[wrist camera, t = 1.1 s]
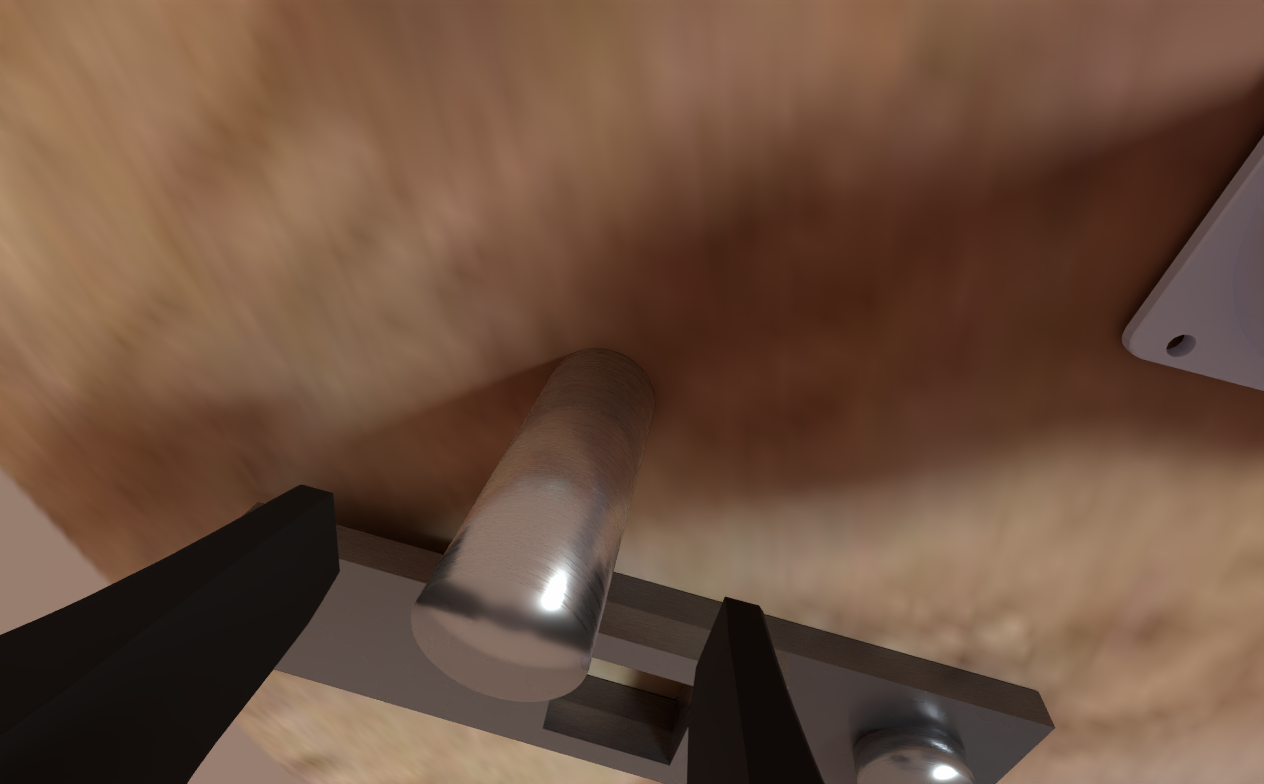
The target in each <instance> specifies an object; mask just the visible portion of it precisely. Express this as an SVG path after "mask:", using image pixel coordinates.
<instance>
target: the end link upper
mask: <svg viewBox="0 0 1264 784" xmlns="http://www.w3.org/2000/svg"><path fill="white" fill-rule="evenodd" d="M262 505H264V504H262V503H259V502H258V503H256V504H255V505H254V506H253V507H252V508H251V509H250V510H249V511H248V512H247V513H246V514H248V513H249V512H251V511H253V510H255V509H257V508H259V507H260V506H262ZM246 514H245V515H246ZM243 516H244V515H243ZM336 532H337V543H338V554H339V565H340V572H339V574H338V576H337V577H336V579H335V581H334V583H333V584H332V586H331V588H330V589H329V591H328V593H327V594H326V596H325V598H324V600H323V601H322V603H321V604H320V606H319V608H318V609H317V611H316V612H315V614H314V616H313V617H312V619H311V620H310V622H309V624H308V625H307V626H306V628H305V629H304V630H303V632H302V633H301V634H300V635H299V637H298V638H297V639H296V641H295V642H294V643H293V645H292V646H291V647H290V649H289V650H288V651H287V652H286V654H285V655H284V656H283V658H282V659H281V660H280V661H279V663H278V664H277V665H276V667H275V668H274V670H278V671H281V672H285V673H288V674H291V675H295V676H298V677H302V678H305V679H308V680H312V681H315V682H319V683H322V684H326V685H329V686H332V687H336V688H339V689H343V690H346V691H350V692H353V693H356V694H360V695H363V696H367V697H370V698H373V699H377V700H380V701H384V702H387V703H391V704H394V705H397V706H401V707H404V708H408V709H411V710H415V711H418V712H421V713H425V714H428V715H432V716H435V717H438V718H442V719H445V720H449V721H452V722H456V723H459V724H462V725H466V726H469V727H473V728H476V729H480V730H483V731H486V732H490V733H493V734H497V735H500V736H503V737H507V738H510V739H514V740H517V741H521V742H524V743H527V744H531V745H534V746H538V747H541V748H545V749H548V750H551V751H555V752H558V753H562V754H565V755H568V756H572V757H575V758H579V759H582V760H586V761H589V762H592V763H596V764H599V765H603V766H606V767H610V768H613V769H616V770H620V771H623V772H627V773H630V774H633V775H637V776H640V777H644V778H647V779H651V780H654V781H657V782H661V783H664V784H687V758H688V726H689V718H690V709H691V701H692V693H693V689H692V692H691V694H690V696H689V698H688V700H687V703H686V705H685V707H684V709H683V711H682V714H681V716H680V718H679V720H678V722H677V725H676V727H675V729H674V731H669V730H666V729H662V728H659V727H655V726H652V725H648V724H645V723H641V722H638V721H635V720H631V719H628V718H624V717H621V716H617V715H614V714H610V713H607V712H603V711H600V710H596V709H593V708H590V707H586V706H583V705H579V704H576V703H572V702H569V701H565V700H562V699H558V698H556V699H552V700H547V701H540V702H518V701H510V700H504V699H499V698H495V697H491V696H488V695H485V694H482V693H479V692H477V691H475V690H472V689H470V688H468V687H466V686H464V685H462V684H460V683H458V682H457V681H455V680H454V679H452V678H450V677H449V676H448V675H446V674H445V673H443V672H442V671H441V670H440V669H439V668H437V667H436V666H435V665H434V664H433V663H432V662H431V661H430V660H429V659H428V658H427V656H426V655H425V654H424V653H423V651H422V650H421V648H420V647H419V645H418V643H417V641H416V639H415V637H414V634H413V630H412V627H411V614H412V609H413V606H414V604H415V602H416V600H417V599H418V597H419V595H420V594H421V592H422V590H423V589H424V587H425V585H426V584H427V582H428V580H429V579H430V577H431V575H432V573H433V572H434V570H435V568H436V567H437V565H438V563H439V562H440V560H441V558H442V557H443V554H439V553H435V552H432V551H428V550H425V549H421V548H418V547H414V546H411V545H407V544H404V543H400V542H397V541H393V540H390V539H386V538H382V537H379V536H375V535H372V534H368V533H365V532H361V531H358V530H354V529H351V528H347V527H344V526H340V525H337V524H336ZM710 632H711V630H708V629H704V628H701V627H697V626H694V625H690V624H686V623H683V622H679V621H676V620H672V619H669V618H665V617H662V616H658V615H655V614H651V613H648V612H644V611H641V610H637V609H633V608H630V607H626V606H623V605H619V604H616V603H612V602H609V601H606V603H605V607H604V611H603V615H602V619H601V623H600V627H599V631H598V635H597V639H596V643H595V647H594V651H593V655H592V657H593V658H597V659H600V660H604V661H607V662H611V663H614V664H618V665H621V666H625V667H628V668H632V669H635V670H639V671H642V672H646V673H649V674H653V675H656V676H660V677H663V678H667V679H670V680H674V681H677V682H681V683H684V684H688V685H691V686H693V685H694V677H695V670H696V666H697V663H698V661H699V658H700V656H701V653H702V651H703V649H704V646H705V644H706V641H707V639H708V637H709V634H710ZM774 650H775V653H776V656H777V660H778V663H779V666H780V669H781V671H782V674H783V677H784V680H785V683H786V686H787V689H788V688H789V677H788V664H787V652H785V651H782V650H778V649H775V648H774Z"/></svg>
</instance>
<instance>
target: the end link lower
mask: <svg viewBox="0 0 1264 784" xmlns="http://www.w3.org/2000/svg"><path fill="white" fill-rule="evenodd" d="M606 601H609V602H612V603H616V604H619V605H623V606H626V607H630V608H633V609H637V610H641V611H644V612H648V613H651V614H655V615H658V616H662V617H665V618H669V619H672V620H676V621H679V622H683V623H686V624H690V625H694V626H697V627H701V628H704V629H708V630H711V629H712V627H713V624H714V622H715V620H716V617H717V615H718V612H719V610H720V607H721V605H722V603H721V602H717V601H714V600H710V599H707V598H703V597H700V596H696V595H692V594H689V593H685V592H682V591H678V590H675V589H671V588H668V587H664V586H660V585H657V584H653V583H650V582H646V581H643V580H639V579H636V578H632V577H628V576H625V575H621V574H618V573H614V572H613V575H612V579H611V583H610V587H609V591H608V595H607V599H606ZM764 617H765V620H766V624H767V627H768V631H769V634H770V637H771V641H772V644H773V647H774V648H775V649H778V650H782V651H785V652H787V664H788V677H789V688H788V692H789V695H790V697H791V700H792V703H793V706H794V708H795V711H796V713H797V716H798V719H799V721H800V724H801V726H802V729H803V731H804V734H805V737H806V739H807V742H808V744H809V747H810V749H811V752H812V754H813V757H814V759H815V762H816V764H817V766H818V769H819V771H820V774H821V776H822V778H823V780H824V783H825V784H996V783H997V782H998V781H999V780H1000V779H1001V778H1002V777H1003V776H1004V775H1005V774H1007V773H1008V772H1009V771H1010V770H1011V769H1012V768H1013V767H1014V766H1015V765H1016V764H1017V763H1018V762H1019V761H1020V760H1021V759H1023V758H1024V757H1025V756H1026V755H1027V754H1028V753H1029V752H1030V751H1031V750H1032V749H1033V748H1034V747H1035V746H1036V745H1038V744H1039V743H1040V742H1041V741H1042V740H1043V739H1044V738H1045V737H1046V736H1047V735H1048V734H1049V733H1050V732H1051V731H1052V730H1054V729H1055V726H1054V724H1053V722H1052V720H1051V718H1050V715H1049V713H1048V711H1047V709H1046V707H1045V705H1044V702H1043V700H1042V698H1041V696H1040V694H1039V692H1037V691H1034V690H1030V689H1027V688H1023V687H1020V686H1016V685H1013V684H1009V683H1005V682H1002V681H998V680H995V679H991V678H988V677H984V676H981V675H977V674H973V673H970V672H966V671H963V670H959V669H956V668H952V667H949V666H945V665H941V664H938V663H934V662H931V661H927V660H924V659H920V658H917V657H913V656H909V655H906V654H902V653H899V652H895V651H892V650H888V649H885V648H881V647H877V646H874V645H870V644H867V643H863V642H860V641H856V640H853V639H849V638H845V637H842V636H838V635H835V634H831V633H828V632H824V631H820V630H817V629H813V628H810V627H806V626H803V625H799V624H796V623H792V622H788V621H785V620H781V619H778V618H774V617H771V616H767V615H764ZM692 689H693V686H691V685H688V684H684V685H683V687H682V689H681V692H680V694H679V696H678V698H677V701H675V700H672V699H668V698H665V697H661V696H658V695H654V694H651V693H648V692H644V691H641V690H637V689H634V688H630V687H627V686H623V685H620V684H616V683H613V682H609V681H606V680H602V679H599V678H595V677H592V676H588V675H586V677H585V679H584V680H583V682H582V683H581V684H580V685H579V686H578V687H577V688H576V689H574V690H573V691H571V692H570V693H568V694H566V695H564V696H562V697H559V698H558V699H562V700H565V701H569V702H572V703H576V704H579V705H583V706H586V707H590V708H593V709H596V710H600V711H603V712H607V713H610V714H614V715H617V716H621V717H624V718H628V719H631V720H635V721H638V722H641V723H645V724H648V725H652V726H655V727H659V728H662V729H666V730H669V731H674V729H675V727H676V725H677V722H678V720H679V718H680V716H681V714H682V711H683V709H684V707H685V705H686V703H687V700H688V698H689V696H690V694H691V692H692Z"/></svg>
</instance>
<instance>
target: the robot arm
mask: <svg viewBox="0 0 1264 784" xmlns="http://www.w3.org/2000/svg"><path fill="white" fill-rule="evenodd" d="M1180 335H1184V338H1183V340H1182V342H1181V343H1179V344H1178V345H1177V346H1176V347H1173V348H1170V349H1166V348H1167V345H1168V343H1169V342H1170V341H1171V340H1173V339H1174V338H1175V337H1178V336H1180ZM1122 344H1123V345H1124V347H1125V348H1126V350H1128V351H1129V352H1130V353H1132V354H1133V355H1134V356H1136V357H1138V358H1140V359H1143V360H1147V361H1151V362H1155V363H1159V364H1162V365H1166V366H1170V367H1174V368H1178V369H1182V370H1185V371H1189V372H1193V373H1197V374H1201V375H1204V376H1208V377H1212V378H1216V379H1220V380H1224V381H1227V382H1231V383H1235V384H1239V385H1243V386H1247V387H1250V388H1254V389H1258V390H1262V391H1264V136H1263V137H1262V139H1261V140H1260V141H1259V143H1258V144H1257V146H1256V147H1255V148H1254V150H1253V151H1252V153H1251V154H1250V155H1249V157H1248V158H1247V160H1246V161H1245V162H1244V164H1243V165H1242V167H1241V168H1240V169H1239V171H1238V172H1237V174H1236V175H1235V176H1234V178H1233V179H1232V180H1231V182H1230V183H1229V185H1228V186H1227V187H1226V189H1225V190H1224V192H1223V193H1222V194H1221V196H1220V197H1219V199H1218V200H1217V201H1216V203H1215V204H1214V206H1213V207H1212V208H1211V210H1210V211H1209V212H1208V214H1207V215H1206V217H1205V218H1204V219H1203V221H1202V222H1201V224H1200V225H1199V226H1198V228H1197V229H1196V231H1195V232H1194V233H1193V235H1192V236H1191V238H1190V239H1189V240H1188V242H1187V243H1186V244H1185V246H1184V247H1183V249H1182V250H1181V251H1180V253H1179V254H1178V256H1177V257H1176V258H1175V260H1174V261H1173V263H1172V264H1171V265H1170V267H1169V268H1168V270H1167V271H1166V272H1165V274H1164V275H1163V277H1162V278H1161V279H1160V281H1159V282H1158V283H1157V285H1156V286H1155V288H1154V289H1153V290H1152V292H1151V293H1150V295H1149V296H1148V297H1147V299H1146V300H1145V302H1144V303H1143V304H1142V306H1141V307H1140V309H1139V310H1138V311H1137V313H1136V314H1135V315H1134V317H1133V318H1132V320H1131V321H1130V322H1129V324H1128V325H1127V327H1126V328H1125V330H1124V333H1123V335H1122ZM339 572H340V565H339V554H338V543H337V532H336V520H335V509H334V498H333V493H331V492H327V491H324V490H320V489H316V488H312V487H309V486H305V485H299V486H297V487H295V488H293V489H292V490H290V491H288V492H286V493H284V494H282V495H280V496H278V497H277V498H275V499H273V500H271V501H269V502H268V503H266V504H264V505H262V506H260V507H259V508H257V509H255V510H253V511H251V512H249V513H248V514H246V515H244V516H242V517H240V518H239V519H237V520H235V521H233V522H231V523H229V524H228V525H226V526H224V527H222V528H220V529H219V530H217V531H215V532H213V533H211V534H209V535H207V536H206V537H204V538H202V539H200V540H198V541H196V542H194V543H192V544H191V545H189V546H187V547H185V548H183V549H181V550H179V551H177V552H176V553H174V554H172V555H170V556H168V557H166V558H164V559H162V560H160V561H158V562H156V563H154V564H152V565H150V566H148V567H146V568H144V569H142V570H140V571H138V572H136V573H134V574H132V575H130V576H128V577H126V578H124V579H122V580H120V581H118V582H116V583H114V584H112V585H110V586H108V587H106V588H104V589H102V590H100V591H98V592H96V593H94V594H92V595H90V596H87V597H86V598H83V599H81V600H79V601H77V602H75V603H72V604H70V605H68V606H66V607H64V608H62V609H59V610H57V611H55V612H53V613H51V614H48V615H46V616H44V617H41V618H39V619H37V620H35V621H32V622H30V623H27V624H25V625H23V626H21V627H18V628H16V629H13V630H11V631H9V632H6V633H4V634H2V635H0V784H187V783H188V781H189V780H190V778H191V777H192V775H193V774H194V772H195V771H196V770H197V768H198V767H199V765H200V764H201V762H202V761H203V760H204V759H205V757H206V756H207V754H208V753H209V751H210V750H211V749H212V748H213V746H214V745H215V743H216V742H217V741H218V739H219V738H220V737H221V736H222V734H223V733H224V732H225V731H226V729H227V728H228V727H229V726H230V724H231V723H232V722H233V720H234V719H235V718H236V717H237V715H238V714H239V713H240V711H241V710H242V709H243V708H244V706H245V705H246V704H247V702H248V701H249V700H250V699H251V697H252V696H253V695H254V694H255V692H256V691H257V690H258V688H259V687H260V686H261V685H262V683H263V682H264V681H265V679H266V678H267V677H268V676H269V674H270V673H271V672H272V671H273V669H274V668H275V667H276V665H277V664H278V663H279V661H280V660H281V659H282V658H283V656H284V655H285V654H286V652H287V651H288V650H289V649H290V647H291V646H292V645H293V643H294V642H295V641H296V639H297V638H298V637H299V635H300V634H301V633H302V632H303V630H304V629H305V628H306V626H307V625H308V624H309V622H310V620H311V619H312V617H313V616H314V614H315V612H316V611H317V609H318V608H319V606H320V604H321V603H322V601H323V600H324V598H325V596H326V594H327V593H328V591H329V589H330V588H331V586H332V584H333V583H334V581H335V579H336V577H337V576H338V574H339ZM687 784H825V783H824V780H823V778H822V776H821V774H820V771H819V769H818V766H817V764H816V762H815V759H814V757H813V754H812V752H811V749H810V747H809V744H808V742H807V739H806V737H805V734H804V731H803V729H802V726H801V724H800V721H799V719H798V716H797V713H796V711H795V708H794V706H793V703H792V700H791V697H790V695H789V692H788V689H787V686H786V683H785V680H784V677H783V674H782V671H781V669H780V666H779V663H778V660H777V656H776V653H775V650H774V647H773V644H772V641H771V637H770V634H769V631H768V627H767V624H766V620H765V617H764V613H763V611H762V609H761V608H760V606H759V605H755V604H751V603H747V602H743V601H740V600H736V599H732V598H728V597H725V598H724V600H723V603H722V605H721V607H720V610H719V612H718V615H717V617H716V620H715V622H714V624H713V627H712V629H711V632H710V634H709V637H708V639H707V641H706V644H705V646H704V649H703V651H702V653H701V656H700V658H699V661H698V663H697V666H696V670H695V677H694V685H693V693H692V701H691V709H690V718H689V726H688V758H687Z"/></svg>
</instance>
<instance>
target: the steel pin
mask: <svg viewBox="0 0 1264 784" xmlns="http://www.w3.org/2000/svg"><path fill="white" fill-rule="evenodd" d="M654 406H655V396H654V391H653V387H652V385H651V382H650V380H649V378H648V377H647V375H646V374H645V372H644V371H643V370H642V369H641V368H640V367H639V366H638V365H637V364H636V363H635V362H633V361H632V360H631V359H629V358H627V357H626V356H624V355H622V354H620V353H617V352H614V351H611V350H606V349H586V350H581V351H578V352H575V353H573V354H571V355H569V356H568V357H566V358H565V359H563V360H562V361H561V362H560V363H559V364H558V366H557V367H556V368H555V370H554V372H553V373H552V375H551V377H550V378H549V380H548V382H547V383H546V385H545V387H544V388H543V390H542V392H541V393H540V395H539V397H538V398H537V400H536V402H535V403H534V405H533V407H532V408H531V410H530V412H529V413H528V415H527V417H526V418H525V420H524V422H523V423H522V425H521V427H520V428H519V430H518V432H517V433H516V435H515V437H514V438H513V440H512V442H511V443H510V445H509V447H508V448H507V450H506V452H505V453H504V455H503V457H502V458H501V460H500V462H499V463H498V465H497V467H496V468H495V470H494V472H493V473H492V475H491V477H490V478H489V480H488V482H487V483H486V485H485V487H484V488H483V490H482V492H481V493H480V495H479V497H478V498H477V500H476V502H475V503H474V505H473V507H472V508H471V510H470V512H469V513H468V515H467V517H466V518H465V520H464V522H463V523H462V525H461V527H460V528H459V530H458V532H457V533H456V535H455V537H454V538H453V540H452V542H451V543H450V545H449V547H448V548H447V550H446V552H445V553H444V555H443V557H442V558H441V560H440V562H439V563H438V565H437V567H436V568H435V570H434V572H433V573H432V575H431V577H430V579H429V580H428V582H427V584H426V585H425V587H424V589H423V590H422V592H421V594H420V595H419V597H418V599H417V600H416V602H415V604H414V606H413V609H412V614H411V627H412V630H413V634H414V637H415V639H416V641H417V643H418V645H419V647H420V648H421V650H422V651H423V653H424V654H425V655H426V656H427V658H428V659H429V660H430V661H431V662H432V663H433V664H434V665H435V666H436V667H437V668H439V669H440V670H441V671H442V672H443V673H445V674H446V675H448V676H449V677H450V678H452V679H454V680H455V681H457V682H458V683H460V684H462V685H464V686H466V687H468V688H470V689H472V690H475V691H477V692H479V693H482V694H485V695H488V696H491V697H495V698H499V699H504V700H510V701H518V702H540V701H547V700H552V699H556V698H559V697H562V696H564V695H566V694H568V693H570V692H571V691H573V690H574V689H576V688H577V687H578V686H579V685H580V684H581V683H582V682H583V680H584V679H585V677H586V675H587V673H588V670H589V667H590V663H591V659H592V655H593V651H594V647H595V643H596V639H597V635H598V631H599V627H600V623H601V619H602V615H603V611H604V607H605V603H606V599H607V595H608V591H609V587H610V583H611V579H612V575H613V571H614V567H615V563H616V559H617V555H618V551H619V547H620V543H621V539H622V535H623V531H624V527H625V523H626V519H627V515H628V511H629V507H630V503H631V499H632V495H633V491H634V487H635V483H636V479H637V475H638V471H639V467H640V463H641V459H642V455H643V451H644V447H645V443H646V439H647V435H648V431H649V427H650V423H651V419H652V416H653V411H654Z"/></svg>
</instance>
